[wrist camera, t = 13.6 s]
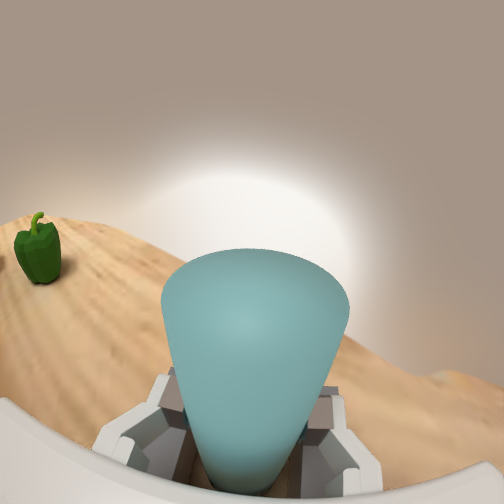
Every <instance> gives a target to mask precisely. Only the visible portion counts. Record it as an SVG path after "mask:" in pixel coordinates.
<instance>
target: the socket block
mask: <svg viewBox="0 0 504 504" xmlns="http://www.w3.org/2000/svg"><path fill="white" fill-rule="evenodd" d="M168 375H171V376H175V377H176V374H175V369H174V367H171V368H170V370H169V373H168ZM319 395H339V393H338V387H331V386H323V387H322V390H321V392H320V394H319ZM318 447H319V446H299V438H298V440H297V442H296V444H295V446H294V448H293V450H292V452H291V454H290V463H289V477H288V489H287V498H294V499H309V498H325V492H326V485H327V484H328V483H329V482H331V481H332V480H333V479H334V478H336V477H337V476H336V474H335V473H334V471H333V470H332V468H331V467H330V465H329V463H328V462H327V460H326V459H325V457H324V456H323V454H322V453H321V451H320V449H319V448H318ZM142 451H143V453H144V454H145V455H146V456H147V457H148V459H149V461H150V462H149V465H148V468H147V471H146V473H148V474H151V475H154V476H157V477H161V478H164V479H167V480H171V481H174V482H178V483H182V484H186V485H188V482H189V478H190V474H191V470H192V467H193V463H194V459H195V456H196V452H197V446H196V443H195V440H194V437H193V434H192V430H191V427H190V428H189V431H186V430H182V429H177V428H173V427H170V428H169V429H168V430H166V431H165V432H164V433H163V434H162V435H160V436H159V437H158V438H157V439H155V440H154V441H153V442H152V443H151V444H149V445H148V446H147V447H145V448H144V449H143V450H142Z"/></svg>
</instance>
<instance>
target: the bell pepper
mask: <svg viewBox="0 0 504 504" xmlns="http://www.w3.org/2000/svg"><path fill="white" fill-rule="evenodd" d="M43 216H44V213H43V212H38V213H37V214H36V215H35V216H34V217H33V219H32V221H31V229H30V230H29V231H20V232H18V234H17V236H16V239H15V241H14V251H15V254H16V257H17V260H18V262H19V264H20V266H21V267H22V269H23V271H24V273H25V274H26V276H27V277H28V279H29V280H31V281H32V282H33V283H37V282H40V283H49V282H51V281H53V280H54V279H56V278H57V277H58V276H59V272H60V268H61V248H60V240H59V235H58V231H57V229H56V227H55V226H54V224H53V223H52V222H51V223H47V224H43V223H38V224H37V221H38V219H39V218H43Z"/></svg>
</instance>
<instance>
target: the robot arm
mask: <svg viewBox="0 0 504 504" xmlns="http://www.w3.org/2000/svg"><path fill="white" fill-rule="evenodd" d="M170 427H173V428H177V429H182V430H186V431H189V428H190V424H189V421H188V417H187V414H186V411H185V407H184V404H183V400H182V397H181V393H180V389H179V385H178V381H177V378H176V377H175V376H171V375H167V374H162V373H160V374H159V375H158V376H157V378H156V381H155V383H154V385H153V387H152V389H151V392H150V394H149V396H148V398H147V401H146V403H145V402H142V403H140V404H139V405H137V406H135V407H134V408H132V409H131V410H129V411H127V412H126V413H124V414H122V415H121V416H119V417H118V418H116V419H114V420H113V421H111V422H109V423H108V424H106V425H104V426H103V427H102V429H101V431H100V433H99V435H98V437H97V439H96V441H95V443H94V445H93V447H92V449H91V450H90V449H88V448H86V447H84V446H82V445H80V444H78V443H76V442H74V441H72V440H70V439H69V438H67V437H65V436H63V435H62V434H60V433H58V432H57V431H55V430H53V429H52V428H50V427H48V426H47V425H45V424H44V423H42V422H41V421H39V420H38V419H36V418H35V417H33V416H32V415H30V414H29V413H27V412H26V411H25V410H23V409H22V408H20V407H19V406H18V405H16V404H15V403H14V402H13V401H11V400H10V399H8V398H6V397H2V398H0V504H504V476H503V474H502V472H501V471H500V470H499V469H497V468H496V467H495V466H494V465H493V464H491V463H490V462H488V461H486V460H484V461H480V462H478V463H476V464H473V465H471V466H468V467H466V468H463V469H461V470H458V471H456V472H453V473H450V474H447V475H444V476H441V477H438V478H435V479H432V480H428V481H425V482H421V483H418V484H414V485H410V486H406V487H402V488H397V489H392V490H387V491H383V482H382V471H381V464H380V463H379V462H378V461H377V459H376V458H375V457H374V456H373V455H372V454H371V453H370V451H369V450H368V449H367V448H366V447H365V446H364V444H363V443H362V442H361V441H360V440H359V439H358V437H357V436H356V435H355V434H354V433H353V432H352V430H351V429H347V424H346V414H345V405H344V398H343V396H342V395H319V397H318V399H317V401H316V403H315V405H314V408H313V410H312V412H311V414H310V416H309V418H308V420H307V422H306V424H305V427H304V429H303V431H302V433H301V435H300V437H299V446H319V447H318V448H319V449H320V451H321V453H322V454H323V456H324V457H325V459H326V460H327V462H328V463H329V465H330V467H331V468H332V470H333V471H334V473H335V474H336V476H337V477H336V478H334V479H333V480H332V481H331V482H329V483H328V484H327V485H326V492H325V498H309V499H294V498H269V497H257V496H247V495H239V494H232V493H225V492H219V491H214V490H208V489H204V488H199V487H194V486H190V485H186V484H182V483H178V482H174V481H171V480H167V479H164V478H161V477H157V476H154V475H151V474H148V473H146V471H147V468H148V465H149V462H150V461H149V459H148V457H147V456H146V455H145V454H144V453H143V451H142V450H143V449H144V448H145V447H147V446H148V445H149V444H151V443H152V442H153V441H154V440H155V439H157V438H158V437H159V436H160V435H162V434H163V433H164V432H165V431H166V430H168V429H169V428H170Z"/></svg>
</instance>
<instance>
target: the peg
mask: <svg viewBox="0 0 504 504" xmlns="http://www.w3.org/2000/svg"><path fill="white" fill-rule="evenodd" d="M161 307H162V313H163V318H164V324H165V329H166V334H167V338H168V343H169V348H170V352H171V357H172V361H173V365H174V369H175V374H176V378H177V381H178V385H179V389H180V393H181V397H182V400H183V404H184V407H185V411H186V414H187V417H188V421H189V424H190V427H191V430H192V434H193V437H194V440H195V443H196V446H197V449H198V452H199V454H200V457H201V460H202V463H203V466H204V468H205V471H206V474H207V476H208V479H209V481H210V483H211V485H212V486H213V487H214V488H215V490H217V491H219V492H225V493H232V494H239V495H247V496H257V497H259V496H261V495H262V494H264V493H265V492H267V491H268V490H269V489H270V488H271V486H272V485H273V483H274V482H275V480H276V478H277V477H278V475H279V473H280V471H281V470H282V468H283V466H284V464H285V463H286V461H287V459H288V457H289V455H290V454H291V452H292V450H293V448H294V446H295V444H296V442H297V440H298V438H299V437H300V435H301V433H302V431H303V429H304V427H305V424H306V422H307V420H308V418H309V416H310V414H311V412H312V410H313V408H314V405H315V403H316V401H317V399H318V397H319V394H320V392H321V390H322V387H323V385H324V383H325V380H326V378H327V375H328V373H329V371H330V368H331V366H332V363H333V360H334V358H335V355H336V353H337V350H338V347H339V345H340V342H341V339H342V336H343V334H344V331H345V328H346V325H347V322H348V318H349V309H350V306H349V301H348V298H347V295H346V293H345V291H344V289H343V287H342V286H341V285H340V284H339V282H338V281H337V280H336V279H335V278H334V277H333V276H332V275H331V274H330V273H328V272H327V271H325V270H324V269H323V268H321V267H319V266H318V265H316V264H314V263H312V262H310V261H308V260H305V259H303V258H300V257H297V256H294V255H291V254H287V253H283V252H278V251H273V250H265V249H232V250H224V251H219V252H214V253H211V254H207V255H204V256H201V257H198V258H196V259H194V260H192V261H190V262H188V263H186V264H184V265H183V266H182V267H180V268H179V269H178V270H176V271H175V272H174V273H173V274H172V275H171V277H170V278H169V279H168V280H167V282H166V284H165V286H164V288H163V291H162V295H161Z"/></svg>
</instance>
